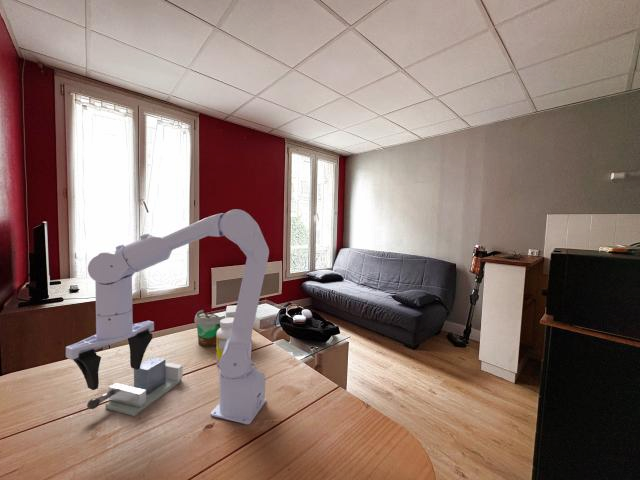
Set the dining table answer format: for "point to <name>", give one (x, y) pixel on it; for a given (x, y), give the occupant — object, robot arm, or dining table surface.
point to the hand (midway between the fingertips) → (115, 377)
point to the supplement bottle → (223, 336)
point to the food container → (207, 328)
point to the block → (150, 374)
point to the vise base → (172, 379)
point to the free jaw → (121, 396)
